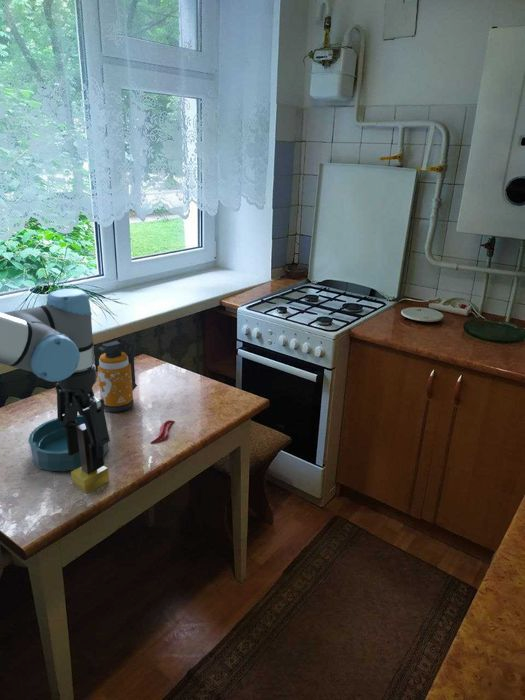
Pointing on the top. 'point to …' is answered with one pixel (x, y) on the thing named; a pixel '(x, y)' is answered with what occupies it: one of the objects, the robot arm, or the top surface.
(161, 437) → the cayenne pepper
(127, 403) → the canister
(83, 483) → the scrub brush
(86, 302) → the robot arm
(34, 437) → the basin
